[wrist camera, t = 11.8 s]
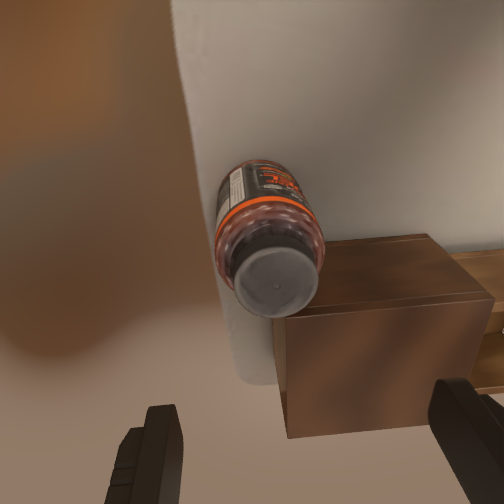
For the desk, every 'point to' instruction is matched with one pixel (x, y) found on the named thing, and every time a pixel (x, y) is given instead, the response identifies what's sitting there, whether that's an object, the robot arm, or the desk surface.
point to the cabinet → (377, 336)
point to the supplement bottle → (267, 240)
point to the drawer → (494, 341)
